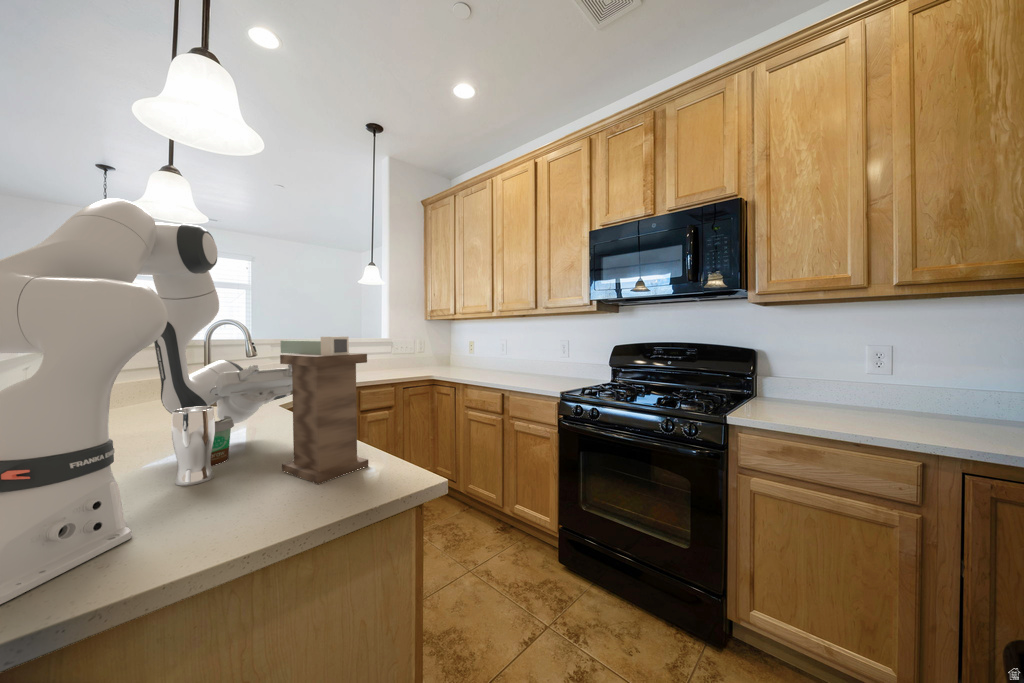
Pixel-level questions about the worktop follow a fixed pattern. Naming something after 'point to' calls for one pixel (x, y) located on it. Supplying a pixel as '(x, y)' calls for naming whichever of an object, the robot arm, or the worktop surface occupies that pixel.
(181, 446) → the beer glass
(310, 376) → the wooden pedestal column
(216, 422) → the food container
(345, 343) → the sage bar
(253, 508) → the worktop surface
